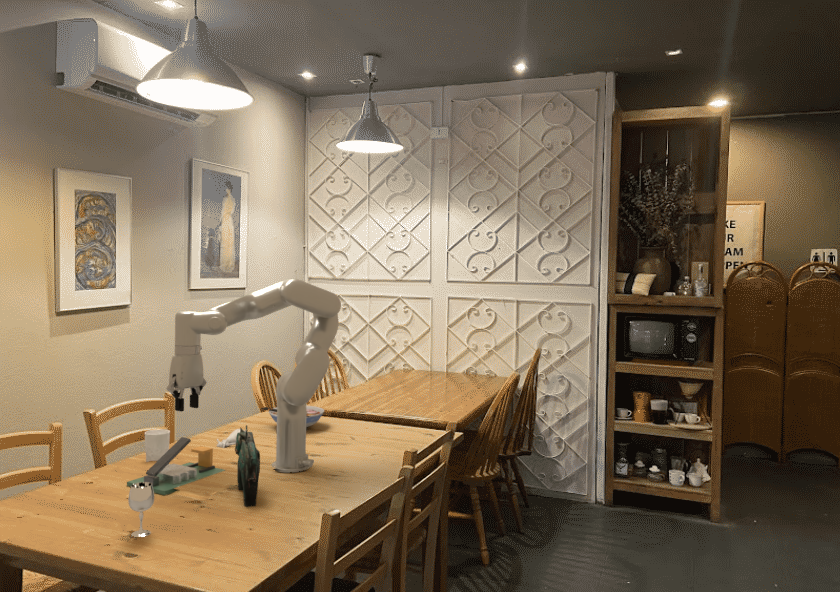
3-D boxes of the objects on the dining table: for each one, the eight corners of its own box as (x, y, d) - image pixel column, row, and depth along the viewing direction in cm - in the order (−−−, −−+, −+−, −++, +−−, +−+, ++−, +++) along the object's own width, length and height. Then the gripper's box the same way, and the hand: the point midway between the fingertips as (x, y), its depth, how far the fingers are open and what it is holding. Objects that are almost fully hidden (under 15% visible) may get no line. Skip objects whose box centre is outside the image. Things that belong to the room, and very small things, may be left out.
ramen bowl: (337, 427, 272) (337, 408, 272) (300, 438, 252) (300, 417, 252) (293, 419, 285) (293, 400, 285) (254, 428, 266) (254, 409, 265)
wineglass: (133, 529, 159) (133, 481, 159) (157, 529, 160) (157, 481, 160) (124, 538, 154) (124, 488, 153) (149, 538, 154) (149, 488, 154)
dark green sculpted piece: (233, 486, 194) (234, 419, 193) (255, 484, 196) (256, 418, 195) (239, 509, 175) (240, 435, 175) (263, 506, 177) (265, 434, 177)
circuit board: (226, 473, 205) (226, 467, 205) (164, 495, 184) (165, 488, 184) (189, 465, 213) (189, 459, 213) (126, 485, 191) (126, 479, 191)
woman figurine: (256, 428, 249) (232, 442, 232) (256, 439, 250) (232, 454, 232) (229, 425, 252) (203, 439, 234) (229, 437, 252) (203, 451, 235)
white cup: (160, 465, 212) (161, 435, 212) (139, 463, 214) (139, 433, 214) (174, 459, 220) (174, 430, 220) (153, 457, 222) (153, 428, 221)
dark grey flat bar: (191, 441, 200) (189, 438, 200) (155, 477, 188) (153, 474, 188) (182, 439, 202) (181, 437, 201) (146, 475, 190) (145, 472, 190)
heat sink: (199, 476, 198) (199, 469, 198) (163, 489, 186) (163, 480, 186) (170, 470, 203) (170, 462, 203) (133, 482, 191) (134, 473, 191)
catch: (212, 466, 208) (212, 448, 207) (202, 470, 204) (202, 451, 204) (201, 464, 210) (201, 446, 210) (191, 467, 206) (191, 449, 206)
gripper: (199, 347, 209) (199, 403, 210) (156, 352, 194) (155, 412, 195) (217, 349, 206) (216, 406, 206) (174, 354, 191) (173, 415, 191)
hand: (186, 408), depth 200 cm, fingers open, 5 cm apart
